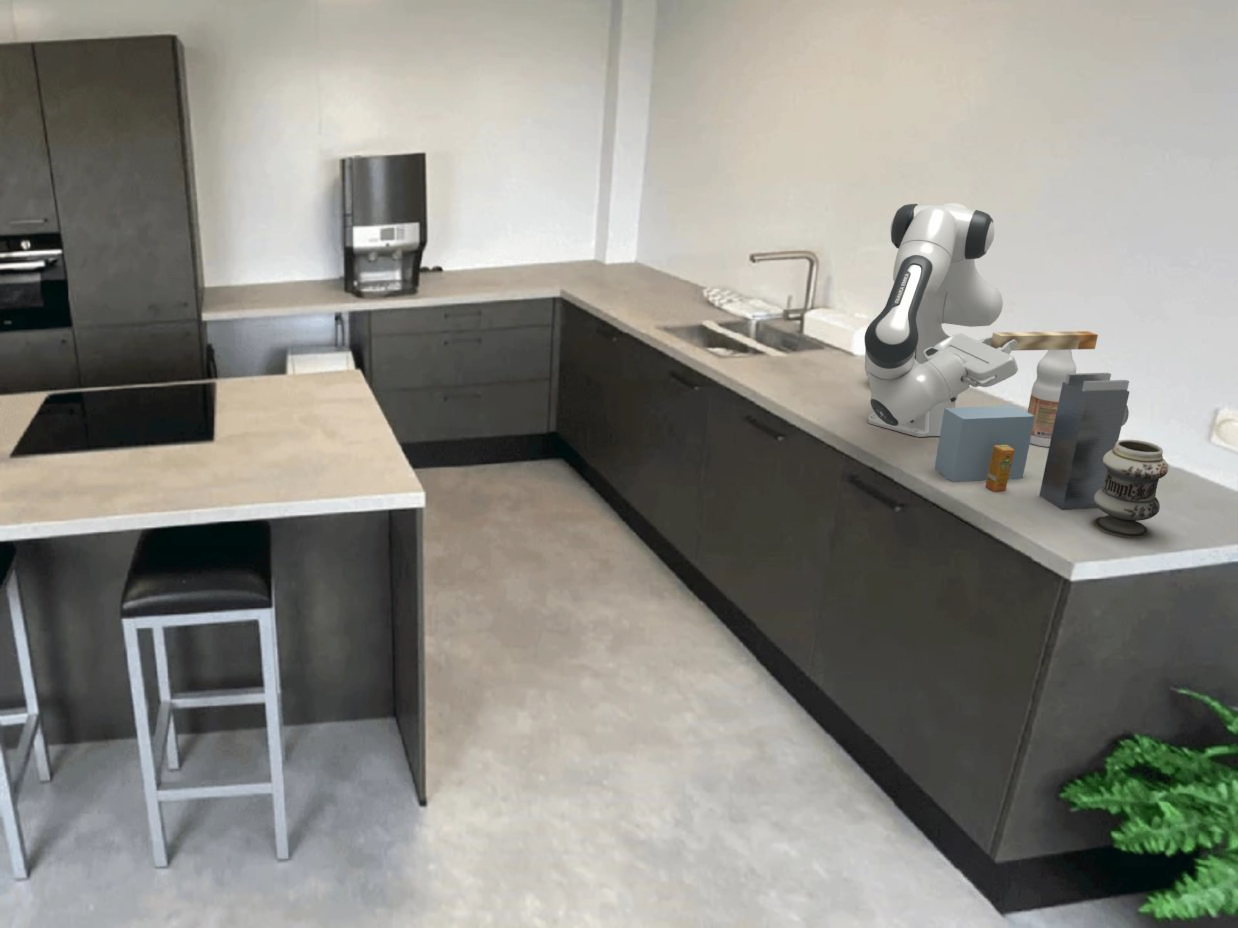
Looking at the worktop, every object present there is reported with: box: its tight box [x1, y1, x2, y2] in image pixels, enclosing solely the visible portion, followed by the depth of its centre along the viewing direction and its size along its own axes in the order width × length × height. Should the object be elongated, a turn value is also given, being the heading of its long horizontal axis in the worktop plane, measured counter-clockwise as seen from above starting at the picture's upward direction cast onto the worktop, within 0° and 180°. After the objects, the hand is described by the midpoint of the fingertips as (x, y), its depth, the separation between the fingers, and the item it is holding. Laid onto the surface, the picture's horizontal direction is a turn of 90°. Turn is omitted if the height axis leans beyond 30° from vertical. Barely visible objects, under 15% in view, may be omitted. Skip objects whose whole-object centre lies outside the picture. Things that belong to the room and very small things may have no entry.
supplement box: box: [985, 445, 1015, 492], centre depth 219 cm, size 3×3×10 cm
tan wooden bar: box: [991, 330, 1099, 352], centre depth 199 cm, size 22×3×3 cm, turn 103°
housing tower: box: [1039, 372, 1130, 511], centre depth 211 cm, size 12×8×28 cm, turn 103°
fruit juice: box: [1027, 350, 1077, 448], centre depth 248 cm, size 9×9×28 cm
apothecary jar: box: [1094, 439, 1169, 539], centre depth 200 cm, size 12×12×18 cm
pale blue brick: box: [934, 405, 1035, 483], centre depth 226 cm, size 18×8×15 cm, turn 103°
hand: (1008, 339), depth 197 cm, fingers closed on tan wooden bar, 3 cm apart
